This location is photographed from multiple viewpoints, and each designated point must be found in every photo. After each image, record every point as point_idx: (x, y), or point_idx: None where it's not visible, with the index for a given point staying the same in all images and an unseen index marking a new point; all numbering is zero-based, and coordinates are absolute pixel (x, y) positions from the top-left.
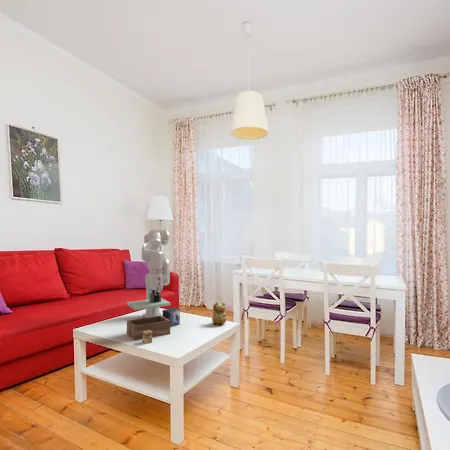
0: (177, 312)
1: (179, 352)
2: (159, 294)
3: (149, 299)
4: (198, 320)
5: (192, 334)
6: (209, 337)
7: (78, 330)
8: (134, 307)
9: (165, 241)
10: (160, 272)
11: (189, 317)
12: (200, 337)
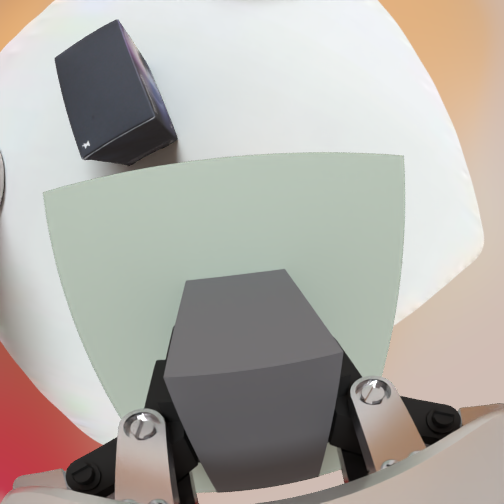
0: (133, 46)
1: (470, 227)
2: (392, 389)
3: None
4: None
5: (350, 76)
6: (406, 52)
7: None
8: (336, 468)
9: None
10: None
11: (73, 11)
12: (397, 76)
